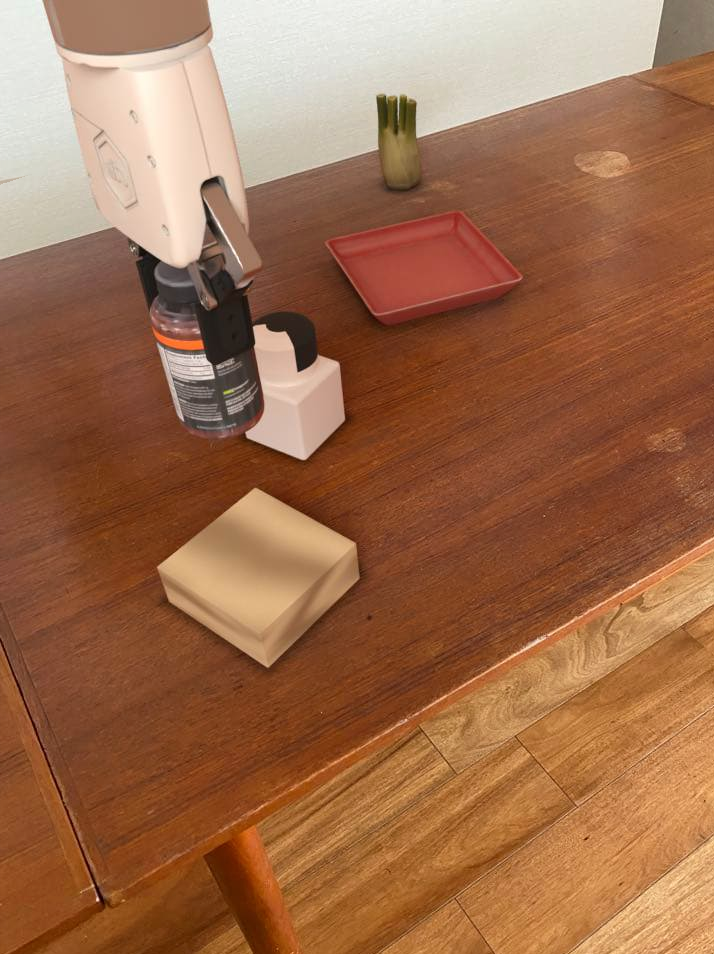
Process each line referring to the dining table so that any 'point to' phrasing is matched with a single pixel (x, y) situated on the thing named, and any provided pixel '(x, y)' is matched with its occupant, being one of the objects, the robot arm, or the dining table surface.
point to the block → (260, 575)
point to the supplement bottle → (201, 363)
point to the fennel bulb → (398, 142)
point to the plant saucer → (423, 267)
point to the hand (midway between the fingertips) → (201, 329)
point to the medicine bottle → (295, 386)
